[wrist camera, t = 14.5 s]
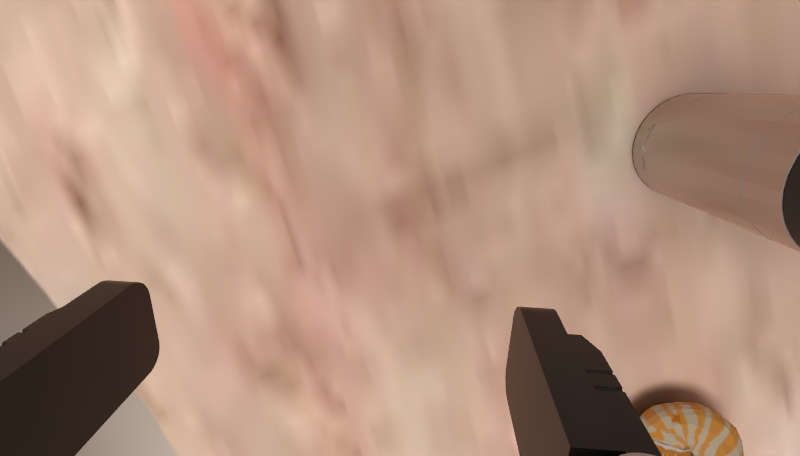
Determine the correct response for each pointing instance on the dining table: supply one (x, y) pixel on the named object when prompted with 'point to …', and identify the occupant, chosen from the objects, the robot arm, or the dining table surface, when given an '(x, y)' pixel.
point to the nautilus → (691, 430)
